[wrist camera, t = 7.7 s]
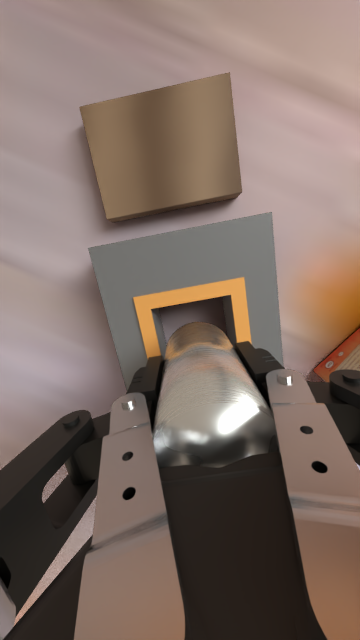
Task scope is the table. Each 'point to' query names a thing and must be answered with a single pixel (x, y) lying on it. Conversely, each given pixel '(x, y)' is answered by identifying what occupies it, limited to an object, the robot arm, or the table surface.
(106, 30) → the table surface
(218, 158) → the brown rectangular block
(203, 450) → the steel peg
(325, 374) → the cracker box
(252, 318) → the hole block
